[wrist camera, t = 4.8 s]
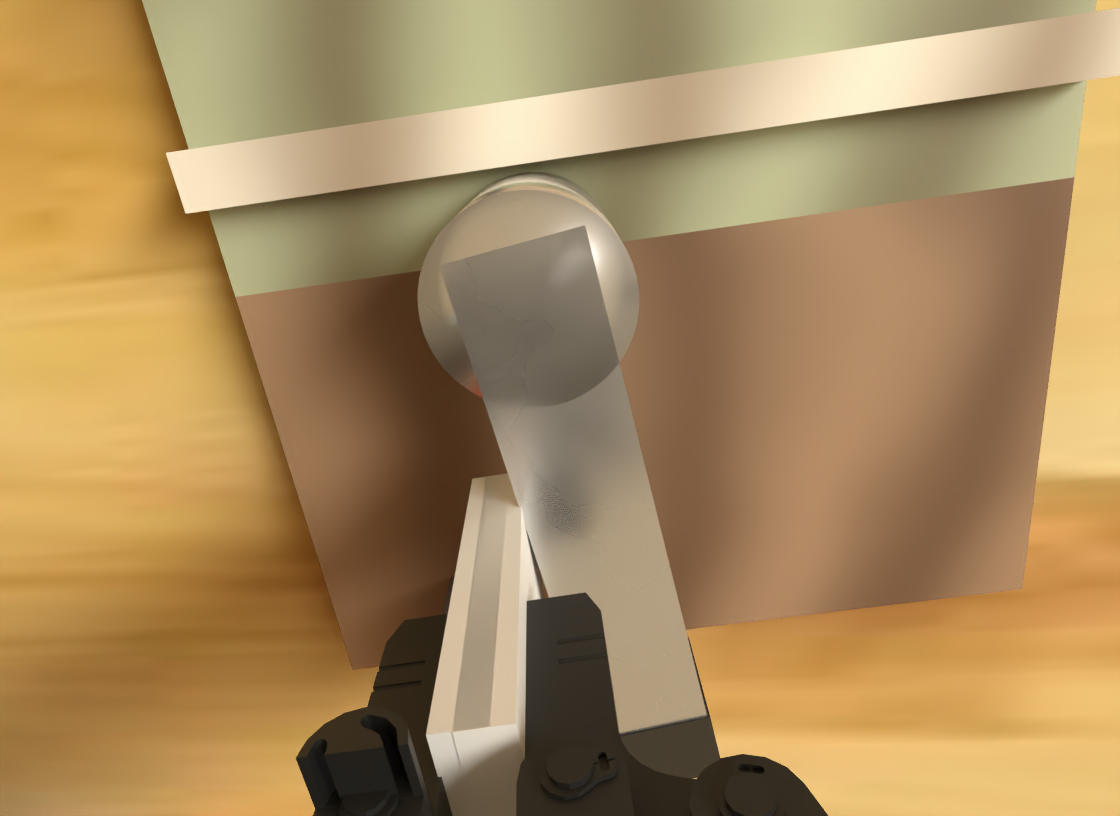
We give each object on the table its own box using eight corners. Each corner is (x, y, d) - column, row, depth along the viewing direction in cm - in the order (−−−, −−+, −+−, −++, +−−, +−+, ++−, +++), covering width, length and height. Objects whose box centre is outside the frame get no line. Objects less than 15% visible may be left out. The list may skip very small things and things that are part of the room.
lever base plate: (365, 634, 22) (294, 829, 16) (91, -278, 14) (-272, -595, 8) (991, 558, 21) (1167, 732, 15) (1097, -456, 13) (1577, -968, 7)
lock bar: (432, 197, 15) (385, 225, 11) (593, 151, 15) (610, 162, 11) (579, 653, 20) (587, 799, 16) (705, 625, 20) (748, 766, 15)
